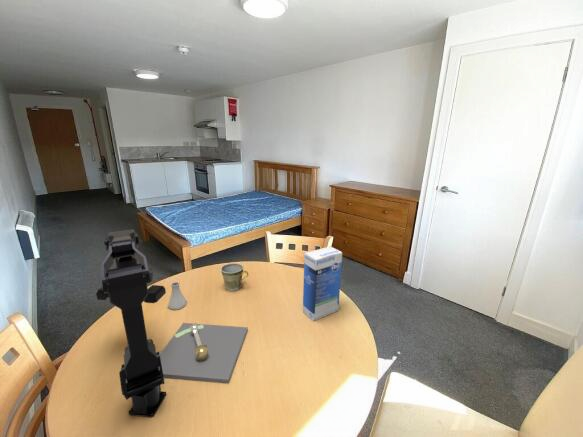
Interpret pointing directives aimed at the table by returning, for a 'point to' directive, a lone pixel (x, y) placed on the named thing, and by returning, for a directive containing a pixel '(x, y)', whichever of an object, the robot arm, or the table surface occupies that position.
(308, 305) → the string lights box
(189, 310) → the table surface
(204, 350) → the lever
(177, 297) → the flask
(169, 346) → the dial board
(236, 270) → the ceramic cup
